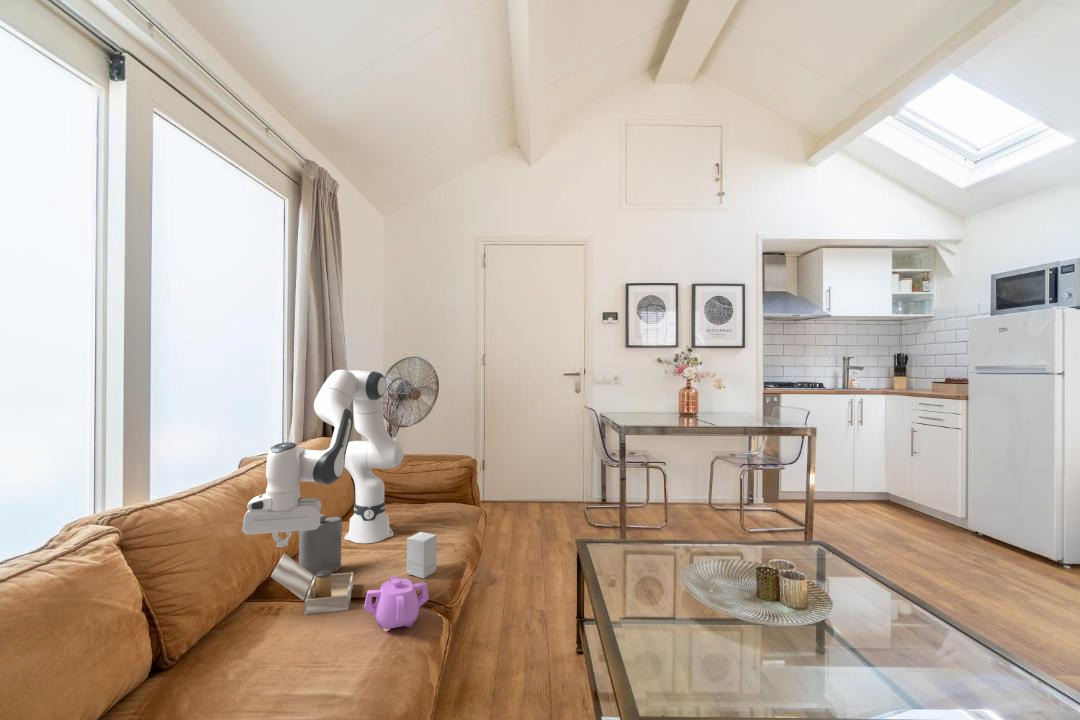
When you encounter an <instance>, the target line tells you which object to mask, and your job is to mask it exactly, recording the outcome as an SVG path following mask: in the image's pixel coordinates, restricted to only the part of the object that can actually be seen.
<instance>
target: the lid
mask: <svg viewBox="0 0 1080 720" xmlns="http://www.w3.org/2000/svg"><path fill="white" fill-rule="evenodd" d="M312 577H313V574H312V573H310V572H309V571H308V570H306V569H305V568H304V567H302V566H301V565H299V562H297V561H296V560H294V559H293V558H291V557H290V556H289V555H287V554H286V553H285V552H284V553H283V554H282V556H281V558H280V560H279V562H278V563H277V565H276V566H275V568H274V570H273V572H272V574H271V576H270V578H272V579H273V580H274V581H276V582H277V583H278V584H280V585H281V586H283V587H284V588H286V589H287V590H288V591H290V592H291V593H292V594H294V595H295V596H297V597H298V598H299V599H300V600H302V601H305V599H306V596H307V594H308V591H309V588H310V586H311V583H312V582H311V580H312Z"/></svg>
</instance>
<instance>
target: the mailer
mask: <svg viewBox="0 0 1080 720" xmlns="http://www.w3.org/2000/svg"><path fill="white" fill-rule="evenodd" d="M353 586H354V572H353V571H351V572H343V573H340V572H339V573H332V592H331V597H325V598H316V599H315V593H316V576H314V578H313V581H312V582H311V583H310V585H309V588H308V590H307V593H306V595H305V598H304V616H306V615H313V614H321V613H323V614H324V613H332V612H333V613H334V612H343V611H348V610H349V606H350V603H351V597H352V591H353V589H354V587H353Z"/></svg>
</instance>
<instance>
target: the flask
mask: <svg viewBox="0 0 1080 720" xmlns="http://www.w3.org/2000/svg"><path fill="white" fill-rule="evenodd" d="M342 526H343V520H342V517H339V516H332V517H327V515H325V514H324V513H320V526H319V527H318V528H317V529H316V530H304V531H299V540H298V541H299V543H298V545H299V546H298V547H299V549H298V550H299V551H298V564H299V565H301V566H302V567H304V568H305V569H306V570H308V571H309V572H310V573H312V574H313V577H312V580H311V583H312V581H313V578H314V576H316V573H317V572H318V571H321V570H331V571H332V573H334V572H339V571H340V570H341V569H340V568H342V532H343V530H342V529H343V528H342ZM339 569H340V570H339ZM338 570H339V571H338Z"/></svg>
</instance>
